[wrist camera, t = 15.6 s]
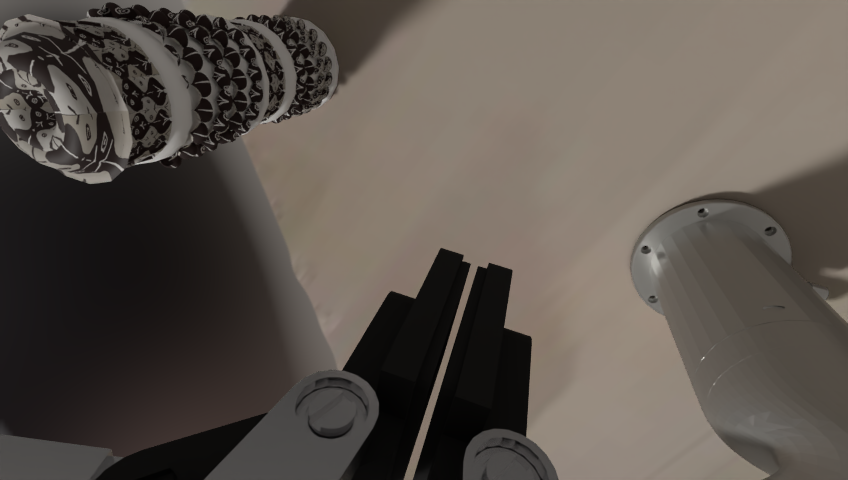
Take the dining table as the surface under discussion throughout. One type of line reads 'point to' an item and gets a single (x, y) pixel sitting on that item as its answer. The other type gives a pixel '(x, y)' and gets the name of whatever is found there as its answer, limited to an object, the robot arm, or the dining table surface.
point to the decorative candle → (153, 84)
